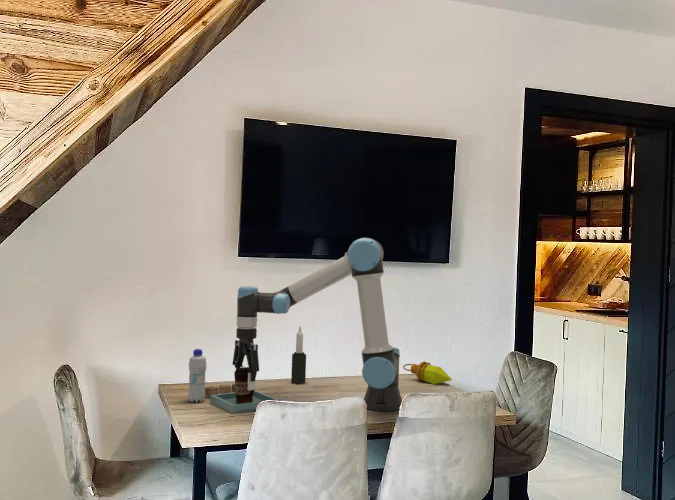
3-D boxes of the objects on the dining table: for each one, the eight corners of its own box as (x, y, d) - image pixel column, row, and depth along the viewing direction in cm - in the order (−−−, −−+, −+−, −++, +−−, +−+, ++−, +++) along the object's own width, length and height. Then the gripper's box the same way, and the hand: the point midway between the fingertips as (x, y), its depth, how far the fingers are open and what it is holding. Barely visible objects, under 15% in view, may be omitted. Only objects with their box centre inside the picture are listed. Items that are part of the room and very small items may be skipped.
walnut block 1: (218, 397, 266) (218, 387, 266) (211, 399, 262) (212, 388, 262) (210, 395, 268) (210, 385, 268) (203, 397, 264) (204, 387, 264)
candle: (306, 383, 297) (308, 326, 297) (298, 384, 293) (299, 327, 293) (298, 381, 301) (300, 325, 300) (290, 382, 297) (291, 326, 297)
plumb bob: (456, 385, 306) (408, 371, 320) (457, 366, 303) (408, 353, 317) (447, 392, 299) (398, 378, 313) (448, 374, 296) (399, 360, 310)
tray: (279, 407, 251) (279, 399, 251) (233, 414, 240) (233, 405, 240) (254, 397, 267) (254, 390, 267) (210, 402, 255) (210, 395, 255)
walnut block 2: (231, 396, 267) (231, 386, 267) (221, 397, 266) (221, 387, 266) (228, 394, 271) (229, 384, 271) (219, 395, 270) (219, 385, 270)
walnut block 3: (245, 394, 272) (245, 384, 272) (237, 395, 269) (238, 385, 269) (239, 392, 275) (239, 382, 275) (231, 394, 272) (231, 384, 272)
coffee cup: (251, 405, 248) (252, 370, 248) (230, 404, 250) (230, 369, 250) (258, 400, 257) (259, 366, 257) (238, 399, 258) (238, 365, 258)
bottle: (196, 404, 253) (198, 351, 253) (183, 401, 256) (185, 349, 256) (209, 401, 258) (210, 348, 258) (196, 398, 262) (197, 347, 262)
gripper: (270, 330, 246) (268, 392, 247) (241, 323, 264) (240, 381, 264) (252, 331, 242) (250, 394, 242) (224, 324, 260) (222, 382, 260)
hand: (244, 387), depth 253 cm, fingers open, 9 cm apart
